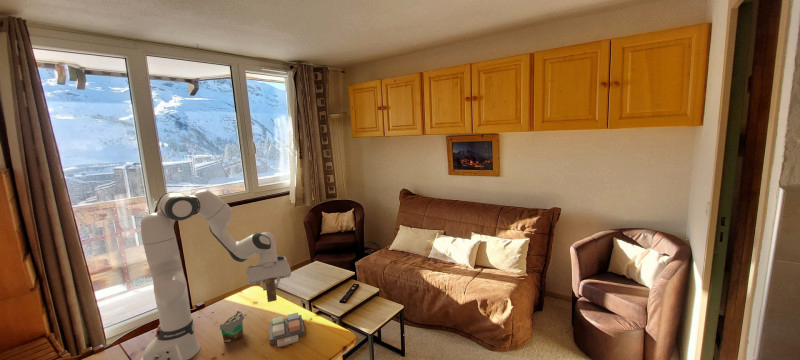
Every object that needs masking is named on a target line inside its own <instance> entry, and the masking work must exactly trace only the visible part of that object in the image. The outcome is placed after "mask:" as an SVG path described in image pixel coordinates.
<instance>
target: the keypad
mask: <svg viewBox="0 0 800 360" xmlns="http://www.w3.org/2000/svg"><path fill="white" fill-rule="evenodd" d="M298 315H299V322H300V329H301V330H299V331H295V332H291V333H289V325H288V317H286V318H284V330H285V334H283V335H279V336H275V337H273V324H272V321H270V322H269V345H271V346H272V345H277V348H279V347H283V346H287V345H290V344H293V343H297V342H299V338H301V337H305V335H306V334H305V327H304V322H303V317H302V314H298Z"/></svg>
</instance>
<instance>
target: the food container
mask: <svg viewBox="0 0 800 360" xmlns="http://www.w3.org/2000/svg"><path fill="white" fill-rule="evenodd" d="M244 317H245V316H244V314H243V313H242V312H241V311H240V310H237V311H236V313H235V314H234V315H233V316H231V317H229V318H228V319H227V320H226V321H225V322H224V323H223V324H221V323H220V324H219V330H221V331H220V332H221V335H222V339H223V343H224V344H231V343H234V342H236V341H239V340H240V339H241V338H242V337H243V336H244V330H243V329H244V327H243V325H244V324H243V321H244Z"/></svg>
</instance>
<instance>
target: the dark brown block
mask: <svg viewBox="0 0 800 360" xmlns="http://www.w3.org/2000/svg"><path fill="white" fill-rule="evenodd" d="M275 281H276V280H274V278H271V279H267V280H266V282H265V286H266V290H265V291H266V296H267V297H266V298H267V303H270V302H271V303H272V302H275V301H277V290H276V289H277V288H275V284H276V282H275Z"/></svg>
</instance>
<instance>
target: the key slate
mask: <svg viewBox="0 0 800 360" xmlns="http://www.w3.org/2000/svg"><path fill="white" fill-rule="evenodd" d="M299 315H300V314H299V312H294V313H290V314H287V318H288V322H291V321H295V320H299Z"/></svg>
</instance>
